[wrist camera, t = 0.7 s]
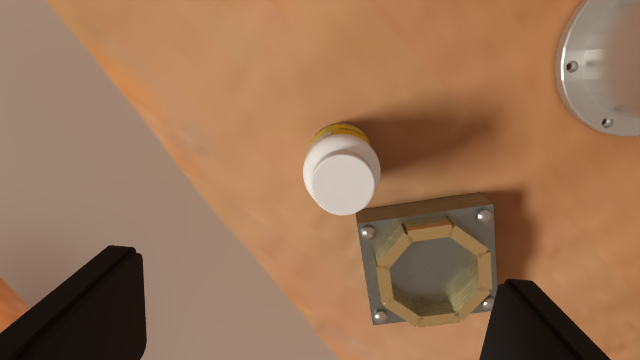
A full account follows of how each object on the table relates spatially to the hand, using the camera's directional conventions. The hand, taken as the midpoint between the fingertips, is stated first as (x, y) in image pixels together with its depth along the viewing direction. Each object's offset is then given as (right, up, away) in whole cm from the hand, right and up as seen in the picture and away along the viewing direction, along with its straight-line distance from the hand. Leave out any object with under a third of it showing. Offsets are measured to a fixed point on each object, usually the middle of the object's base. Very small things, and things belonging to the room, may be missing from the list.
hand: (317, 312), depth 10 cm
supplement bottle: (+2, +6, +23) cm, 24 cm away
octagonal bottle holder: (+9, -3, +25) cm, 27 cm away
